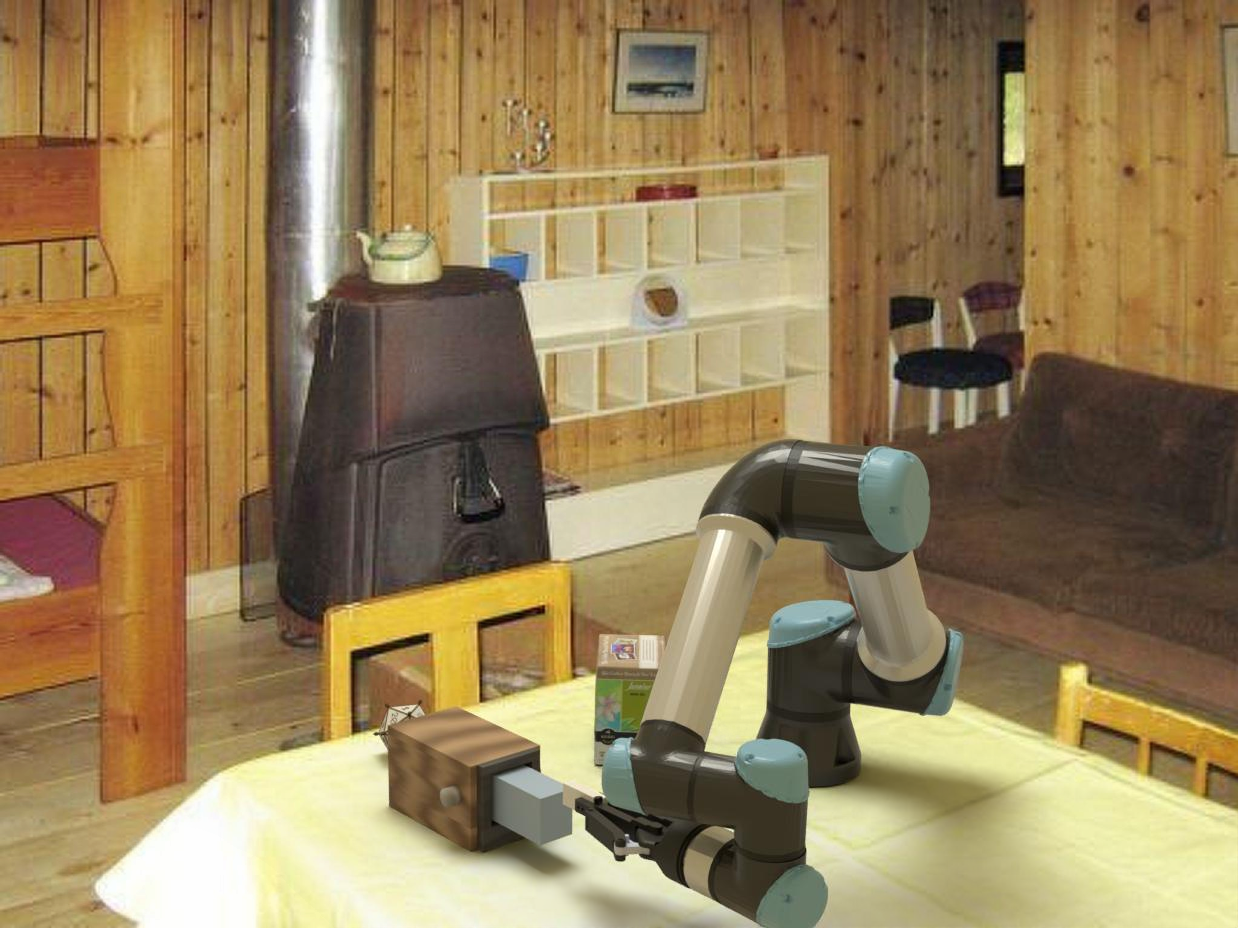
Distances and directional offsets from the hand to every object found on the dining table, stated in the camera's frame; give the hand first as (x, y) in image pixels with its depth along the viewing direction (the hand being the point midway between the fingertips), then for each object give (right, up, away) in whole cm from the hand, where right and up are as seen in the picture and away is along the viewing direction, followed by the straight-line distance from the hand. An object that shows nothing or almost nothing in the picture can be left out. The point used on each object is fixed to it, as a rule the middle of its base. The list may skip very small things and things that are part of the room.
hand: (567, 791), depth 211 cm
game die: (-24, -2, +38) cm, 45 cm away
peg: (-6, -5, +9) cm, 12 cm away
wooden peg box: (-14, -7, +18) cm, 24 cm away
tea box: (+8, -2, +43) cm, 43 cm away
